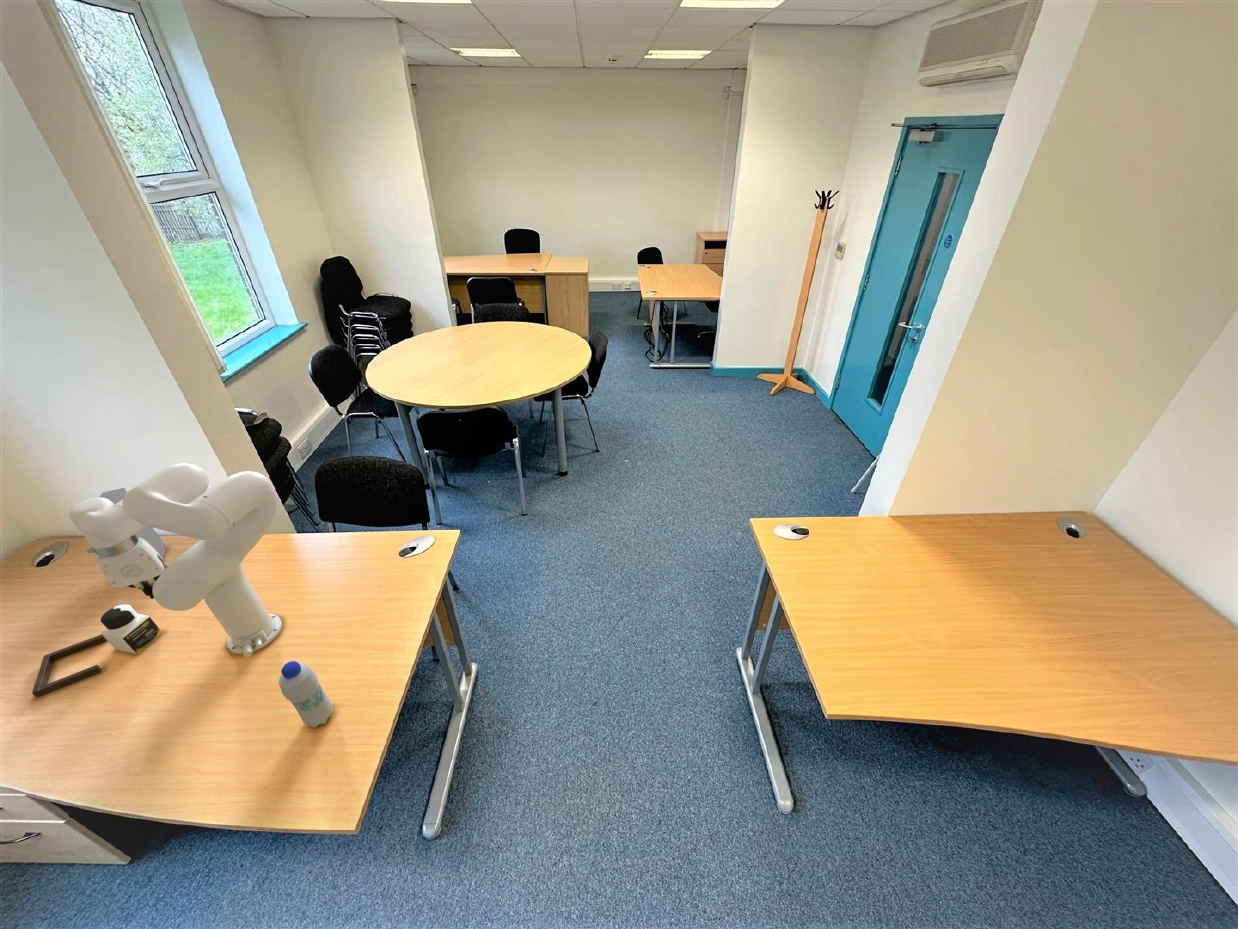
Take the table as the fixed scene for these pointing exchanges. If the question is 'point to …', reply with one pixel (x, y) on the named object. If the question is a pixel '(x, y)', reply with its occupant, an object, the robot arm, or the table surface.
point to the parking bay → (46, 667)
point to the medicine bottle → (128, 629)
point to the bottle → (305, 693)
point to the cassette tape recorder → (144, 533)
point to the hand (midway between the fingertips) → (156, 594)
